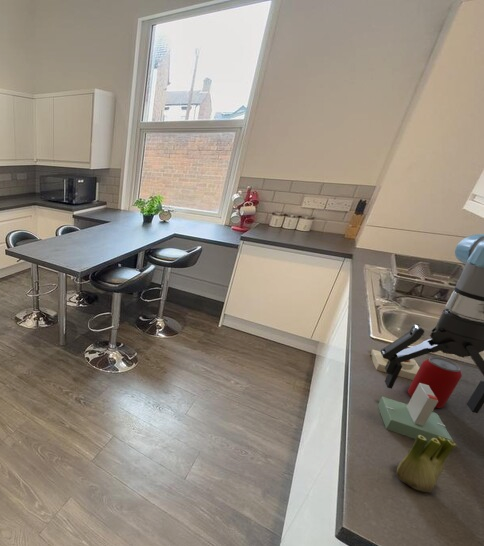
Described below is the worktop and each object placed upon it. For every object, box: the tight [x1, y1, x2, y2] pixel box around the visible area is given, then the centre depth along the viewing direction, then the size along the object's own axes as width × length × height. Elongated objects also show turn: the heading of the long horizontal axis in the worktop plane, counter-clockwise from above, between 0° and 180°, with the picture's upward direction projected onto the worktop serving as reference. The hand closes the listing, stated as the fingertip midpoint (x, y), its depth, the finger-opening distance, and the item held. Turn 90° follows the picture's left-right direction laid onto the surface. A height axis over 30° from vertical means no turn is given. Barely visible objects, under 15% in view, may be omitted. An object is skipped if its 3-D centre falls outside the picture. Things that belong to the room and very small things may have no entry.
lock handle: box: [407, 383, 438, 426], centre depth 72 cm, size 6×2×8 cm, turn 147°
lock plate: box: [377, 396, 454, 444], centre depth 74 cm, size 10×9×3 cm
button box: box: [369, 349, 420, 381], centre depth 94 cm, size 10×9×4 cm
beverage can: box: [407, 356, 463, 409], centre depth 80 cm, size 7×7×12 cm
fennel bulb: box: [396, 435, 458, 493], centre depth 59 cm, size 6×5×12 cm
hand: (427, 396), depth 71 cm, fingers open, 13 cm apart
